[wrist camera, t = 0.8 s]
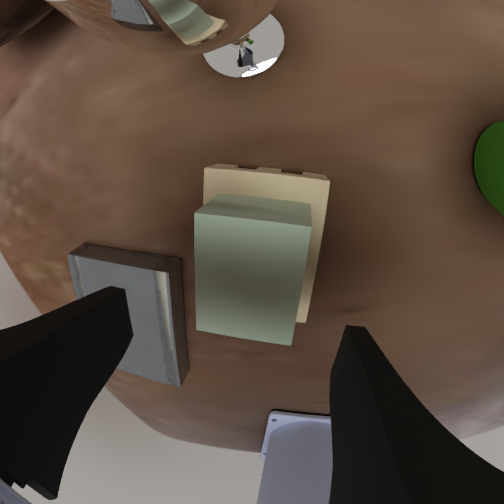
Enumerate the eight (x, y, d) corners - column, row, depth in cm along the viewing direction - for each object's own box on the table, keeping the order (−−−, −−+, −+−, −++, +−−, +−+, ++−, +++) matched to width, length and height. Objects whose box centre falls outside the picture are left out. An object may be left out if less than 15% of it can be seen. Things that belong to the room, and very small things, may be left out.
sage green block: (306, 303, 18) (303, 365, 13) (212, 290, 19) (182, 344, 14) (327, 174, 15) (338, 197, 10) (215, 163, 16) (175, 180, 11)
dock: (188, 370, 22) (180, 387, 21) (106, 346, 23) (95, 360, 22) (181, 258, 18) (168, 273, 17) (84, 243, 19) (67, 254, 18)
